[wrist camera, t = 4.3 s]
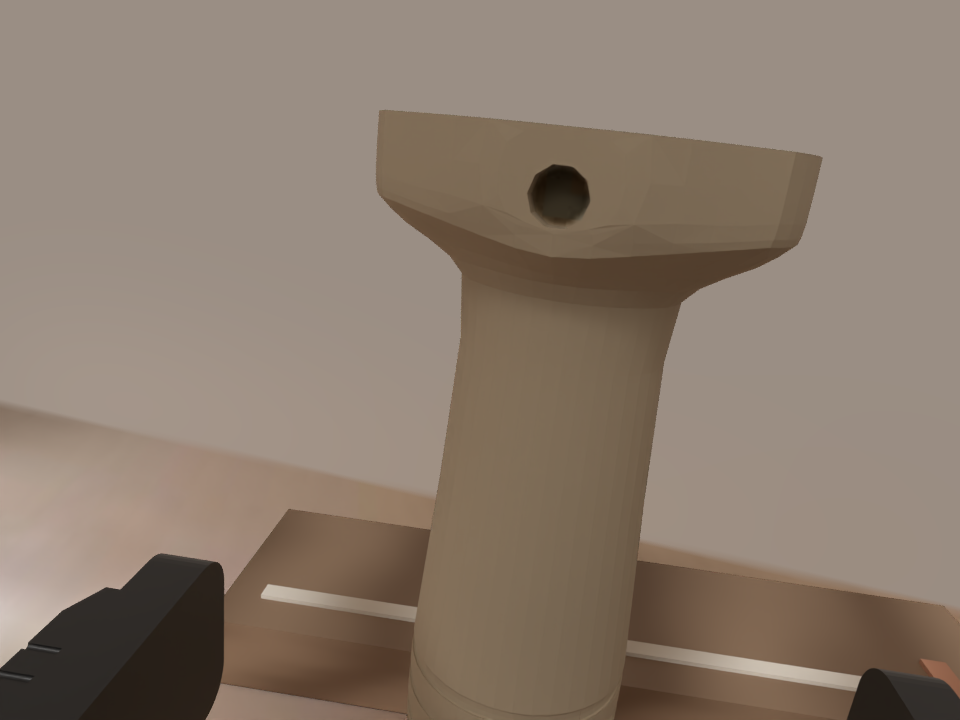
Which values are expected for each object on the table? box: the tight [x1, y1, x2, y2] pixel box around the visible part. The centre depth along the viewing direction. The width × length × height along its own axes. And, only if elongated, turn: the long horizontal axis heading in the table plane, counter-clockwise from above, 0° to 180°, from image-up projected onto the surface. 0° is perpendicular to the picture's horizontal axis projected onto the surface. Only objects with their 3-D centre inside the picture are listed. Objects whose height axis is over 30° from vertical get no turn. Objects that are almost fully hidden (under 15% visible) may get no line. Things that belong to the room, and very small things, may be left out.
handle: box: [376, 110, 822, 720], centre depth 13 cm, size 5×6×15 cm
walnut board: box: [221, 509, 960, 720], centre depth 21 cm, size 22×6×2 cm, turn 84°
